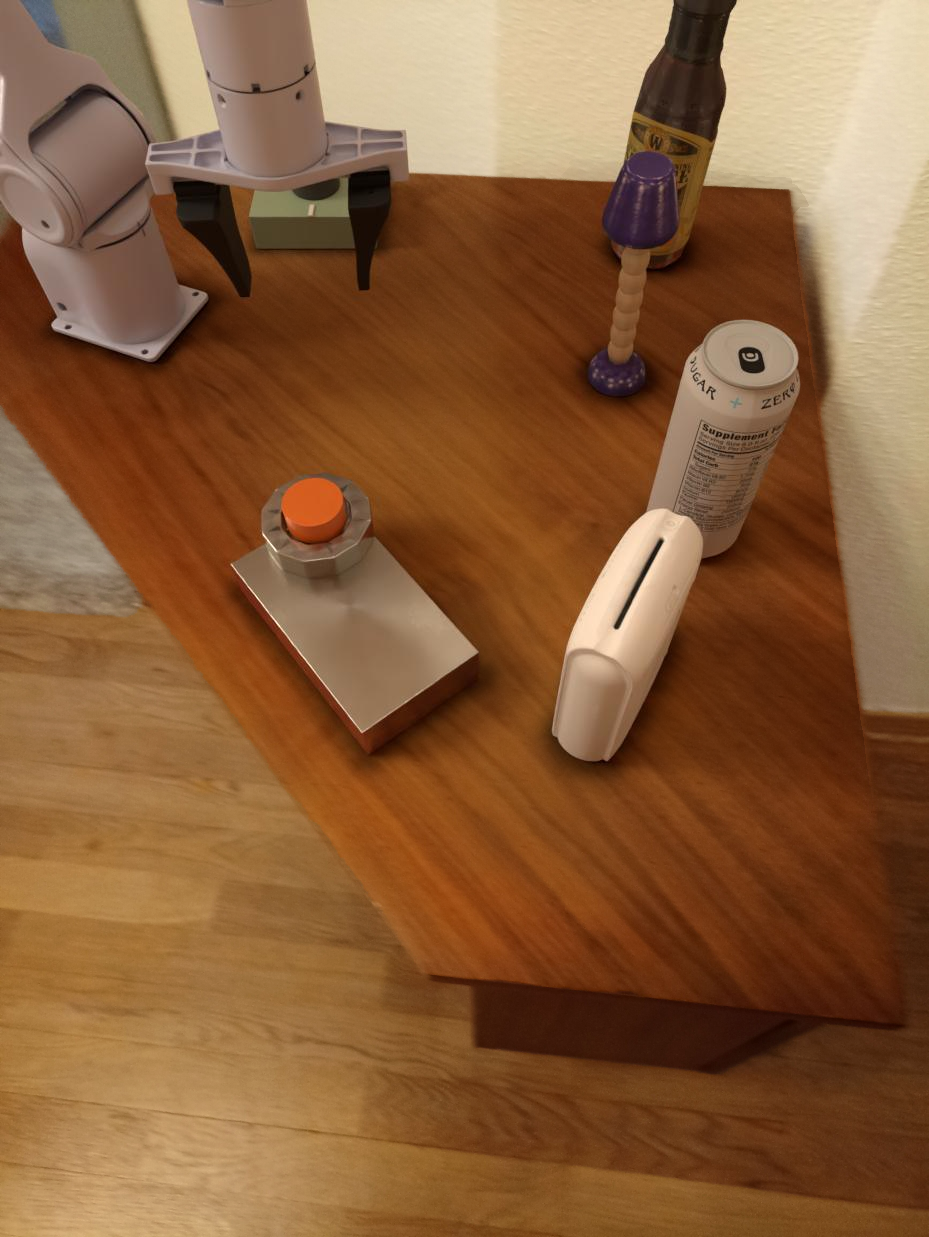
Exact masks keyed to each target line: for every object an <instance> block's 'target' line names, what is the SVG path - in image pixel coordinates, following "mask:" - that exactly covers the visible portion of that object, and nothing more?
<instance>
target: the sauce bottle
mask: <svg viewBox="0 0 929 1237" xmlns="http://www.w3.org/2000/svg"><path fill="white" fill-rule="evenodd" d="M672 1H673V2H672V3H673V5H672V10H671V16H670V20H669V22H668V23H669V24H668V30H667V34H666V35H665V38H664V44H663V46H662V47H661V48H660V50H659V52H658V53H657V55H656V56H655V57H654V59H653V60H652V62H651V63H650V64H649V66H648V67H647V69H646V71H645V73H644V75H643V79H642V82H641V85H640V89H639V92H638V96H637V98H636V102H635V105H634V107H633V108H634V109H633V112H632V116H631V123H630V128H629V131H628V132H629V133H628V138H627V143H626V149H625V153H624V157H623V163H622V165H623V164H624V163H625V161H626V160H627V159H628V158H629V157H630V156H632V155H633V154H635V153H638V152H642V151H654V152H659V153H662V154H664V155H665V156H667V157H668V158H669V159H670V160H671V161H672V163H673V164H674V167H675V172H676V181H677V193H678V206H679V226H678V230H677V232H676V234H675V235H674V237H673V238H672V239H671V240H670V241H668V242H667V243H666V244H664V245H662V246H659V247H656V248H653V249H649V251H650V261H649V264H648V266H647V268H646V269H650V270H661V269H664V268H665V267H667V266H668V265H672V264H673V263H675V262H676V261H678V260H679V258H681V256H682V254H683V252H684V249H685V247H686V245H687V243H688V242H689V238H690V236H691V231H692V228H693V225H694V221H695V218H696V213H697V209H698V207H699V202H700V198H701V194H702V191H703V187H704V184H705V180H706V176H707V173H708V169H709V166H710V162H711V159H712V155H713V152H714V148H715V146H716V145H715V144H716V142H717V138H718V132H719V125H720V123H721V122H720V120H721V117H722V114H723V110H724V108H725V106H726V99H727V83H726V79H725V75H724V70H723V68H722V63H721V62H722V61H721V60H722V59H721V56H722V52H723V49H724V40H725V36H726V32H727V28H728V25H729V20H730V18H731V17H730V16H731V13H732V11H733V10H734V8H735V7H736V5H737V4H738V3H737V2H738V0H672ZM610 240H611V239H610ZM610 242H611V249H612V251H613V252H614V253H615V255H616V256H617V257H618V258H619V259H620V260H621V258H622V253H623V251H624V249H625V247H624V246H621V245H619V244H617V243H616V242H614V241H612V240H611V241H610Z"/></svg>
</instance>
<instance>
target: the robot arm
mask: <svg viewBox="0 0 929 1237" xmlns="http://www.w3.org/2000/svg"><path fill="white" fill-rule="evenodd" d="M186 2H187V3H186V4H187V7H188V11H189V16H190V19H191V23H192V26H193V31H194V35H195V39H196V42H197V46H198V50H199V54H200V58H201V63H202V65H203V70H204V73H205V78H206V81H207V85H208V86H207V87H208V90H209V93H210V97H211V100H212V105H213V109H214V114H215V117H216V121H217V126H218V128H219V129H215V130H212V131H208V132H203V133H200V134H197V135H191V136H188V137H184V138H180V139H175V140H170V141H163V142H162V141H161V142H157V140H156V137H155V134H154V132H153V129H152V128H151V126H150V124H149V122H148V120H147V119H146V117H145V116H144V114H143V113H142V111H140V110H139V108H138V107H137V106H136V105H135V104H134V103H133V102H132V101H131V100H130V99H129V98H127V97H126V96H125V95H124V94H123V93H122V92H121V90H119V89H118V88H117V86H116V85H115V84H114V83H113V81H111V79H110V78H109V77H108V75H107V74H106V72H105V71H104V69H103V67H102V66H101V65H100V63H99V61H98V60H97V59H96V58H94V57H92V56H89V55H86V54H83V53H79V52H76V51H73V50H69V49H67V48H64V47H60V46H57V45H54V44H52V43H50V42H49V41H48V39H47V38H46V37H45V35H44V34H43V32H42V30H40V28H39V26H38V25H37V23H36V22H35V20H34V19H33V17H32V16H31V14H30V13H29V11H28V10H27V8H26V7H25V5H24V4H23V2H22V1H21V0H0V202H1V204H2V205H3V207H4V208H5V210H6V211H7V212H8V214H9V215H10V216H11V217H12V219H13V220H14V221H16V222H17V224H19V226H20V227H21V239H22V240H21V241H22V246H23V249H24V254H25V256H26V258H27V261H28V262H29V264H30V266H31V268H32V270H33V273H34V274H35V276H36V278H37V280H38V282H39V284H40V286H41V288H42V290H43V292H44V294H45V296H46V297H47V299H48V302H49V304H50V305H51V308H52V309H53V311H54V313H55V315H56V318H55V319H54V320H53V321H52V322H51V328H52V330H53V331H54V332H56V333H59V334H62V335H65V336H69V337H71V338H74V339H78V340H80V341H84V342H87V343H89V344H93V345H96V346H99V347H102V348H104V349H108V350H111V351H113V352H114V351H115V352H117V353H121V354H124V355H126V356H130V357H132V358H136V359H139V360H142V361H145V362H147V363H155V362H156V361H157V360H158V359H159V358H160V357H161V356H162V355H163V354H164V353H165V351H166V350H167V349H168V348H169V347H170V345H171V344H173V342H174V341H175V339H176V338H177V337H178V336H179V335H180V334H181V333H182V331H183V330H184V329H185V328H186V327H187V326H188V324H190V322H191V321H192V320H193V318H194V317H195V316H196V315H197V314H198V313H199V312H200V311H201V310H202V308H203V307H204V306H205V305H206V304H207V302H208V301H209V295H208V293H206V292H205V291H202V290H200V289H199V290H198V289H196V288H191V287H188V286H185V285H183V284H179V282H178V279H177V277H176V273H175V270H174V268H173V265H172V262H171V259H170V256H169V254H168V250H167V247H166V245H165V242H164V239H163V236H162V233H161V231H160V227H159V225H158V222H157V219H156V216H155V213H154V210H153V208H152V205H151V199H152V197H153V195H154V194H155V196H166V195H167V196H169V195H173V194H175V201H176V209H175V210H176V211H175V215H176V217H177V220H178V222H179V223H180V226H181V227H182V228H183V229H184V230H185V231H187V232H188V233H189V234H191V235H192V236H193V237H194V238H195V239H196V240H197V241H198V242H199V243H200V244H201V245H202V246H203V247H204V248H205V249H206V250H207V251H208V252H209V253H210V254H211V256H213V258H214V259H215V260H216V261H217V263H218V264H219V265H220V267H221V269H222V270H223V271H224V273H225V275H226V276H227V277H228V278H229V280H230V282H231V284H232V285H233V287H234V289H235V291H236V293H237V295H238V297H239V298H242V299H243V298H251V294H252V280H253V276H252V270H251V266H250V260H249V257H248V253H247V251H246V247H245V245H244V241H243V238H242V235H241V232H240V228H239V225H238V222H237V221H238V220H237V217H236V213H235V207H234V203H233V198H232V193H231V187H235V188H241V189H248V190H252V191H253V190H254V191H255V190H258V191H267V192H278V191H287V190H292V189H297V188H300V187H304V186H308V185H311V184H315V183H319V182H322V181H326V180H330V179H336V178H348V212H349V217H350V222H351V227H352V232H353V238H354V243H355V261H356V262H355V263H356V281H357V288H358V292H365V291H369V290H371V267H372V261H373V257H374V252H375V246H376V242H377V240H378V241H379V237H380V233H381V231H382V229H383V227H384V225H385V223H386V221H387V219H388V217H389V213H390V210H391V207H392V182H393V183H402V182H403V183H404V182H405V183H406V182H410V168H409V155H408V154H409V152H408V140H407V131H406V129H380V128H379V129H378V128H372V127H364V126H358V125H351V124H345V123H338V122H333V121H326V120H325V114H324V107H323V101H322V94H321V88H320V82H319V75H318V68H317V61H316V53H315V47H314V40H313V34H312V28H311V20H310V14H309V7H308V2H307V0H186ZM62 102H63V103H64V104H63V105H62V106H61V107H60V108H58V109H57V110H55V112H53V113H52V114H51V115H49V116H48V117H46V118H45V119H43V121H42V122H40V123H39V124H38V125H36V127H34V128H33V126H34V125H35V124H36V123H37V122H38V121H39V120H40V119H42V118H43V117H44V116H46V115H47V114H48V113H49V112H50V111H52V110H54V108H55V107H57V106H58V105H60V104H61V103H62ZM32 128H33V129H32ZM31 129H32V130H31ZM377 243H378V242H377Z"/></svg>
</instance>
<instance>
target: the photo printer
mask: <svg viewBox="0 0 929 1237" xmlns="http://www.w3.org/2000/svg"><path fill="white" fill-rule="evenodd" d="M621 537H622V538H620V541H618V544H617V545H616V547H615V548H614V549H613V551H612V553H611V555H610V556H609V558H608V560H607V561H606V563H605V564H604V567H603V568H602V570H601V571H600V574H599V575H598V577H597V579H596V580H595V583H594V585H593V587H592V589H591V590H590V592H589V594H588V596H587V598H586V600H585V602H584V604H583V606H582V609H581V610H580V612H579V615H578V617H577V619H576V621H575V623H574V626H573V627H572V630H571V633H570V635H569V639H568V642H567V645H566V649H565V654H564V659H563V665H562V669H561V675H560V681H559V686H558V692H557V697H556V702H555V708H554V715H553V719H552V727H551V733H552V736H553V737H556V738H557V740H558V743H559V745H560V746H561V747H562V749H563V750H564V751H565V752H567V753H568V754H569V755H571V756H572V757H574V758H576V759H578V760H581V761H586V762H599V761H601V760H604V761H605V762H608V761H610V759H611V758H612V757H613V756H614V755H615V754H616V752H617V751H618V750H619V748H620V747H621V745H622V744H623V742H624V740H625V739H626V737H627V736H628V733H629V731H630V730H631V728H632V725H633V724H634V722H635V720H636V718H637V716H638V714H639V712H640V711H641V708H642V706H643V704H644V702H645V700H646V698H647V696H648V694H649V692H650V690H651V688H652V686H653V684H654V682H655V679H656V677H657V675H658V673H659V671H660V669H661V666H662V664H663V661H664V659H665V657H666V656H667V654H668V651H669V647H670V645H671V642H672V639H673V636H674V634H675V631H676V629H677V626H678V624H679V620H680V617H681V615H682V612H683V610H684V607H685V604H686V602H687V600H688V596H689V595H690V591H691V588H692V587H693V584H694V583H695V580H696V577H697V573H698V570H699V567H700V564H701V561H702V559H701V557H702V550H703V538H702V535H701V532H700V530H699V529H698V527H697V525H696V524H695V523H694V522H693V521H692V520H691V519H690V518H689V517H687V516H681V515H677V514H675V513H673V512H671V511H670V510H668V509H655V510H652V511H649V512H647V513H646V512H644V514H642V515H641V516H640V517H638V519H637V520H635V522H633V523H632V524H631V526H629V528H628V529H627V530H626V532H624V534H623V536H621Z"/></svg>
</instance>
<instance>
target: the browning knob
mask: <svg viewBox="0 0 929 1237" xmlns="http://www.w3.org/2000/svg"><path fill="white" fill-rule="evenodd" d="M339 186H340V179H339V178H336V179H330V180H326V181H322V182H319V183H315V184H311V185H308V186H304V187H300V188H297V189H292V191H293V192H294V194H295V195H297V196H298V197H300V198H303V199H308V200H318V199H323V198H327V197H329V196H331V195H333V194H334V193H335V192H336V191H337V190H338V188H339Z"/></svg>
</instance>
